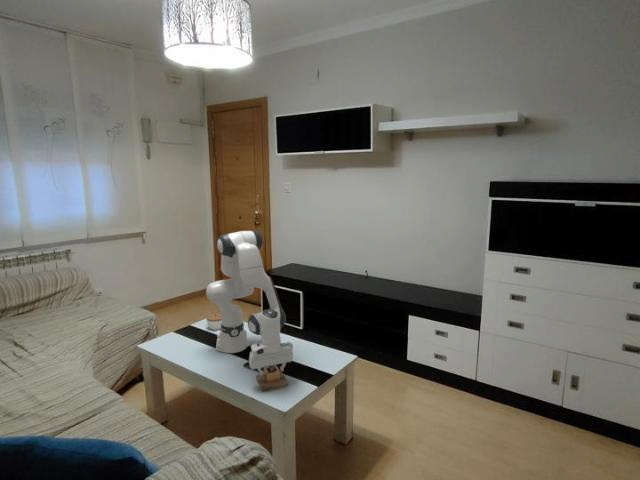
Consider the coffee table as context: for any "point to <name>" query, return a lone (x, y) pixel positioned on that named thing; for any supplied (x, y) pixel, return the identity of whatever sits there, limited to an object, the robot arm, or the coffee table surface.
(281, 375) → the post stand
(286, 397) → the coffee table surface
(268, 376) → the wooden square sleeve
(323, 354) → the coffee table surface
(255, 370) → the phone
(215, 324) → the lidded jar
